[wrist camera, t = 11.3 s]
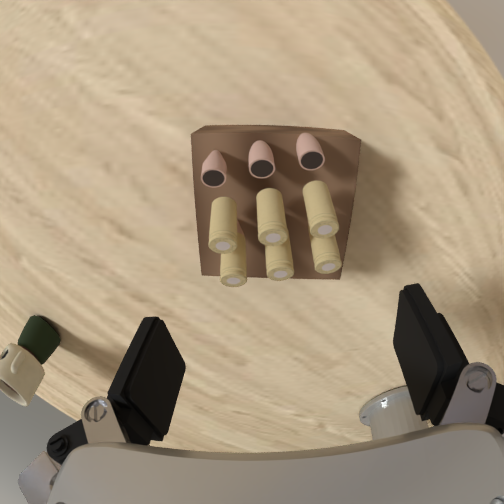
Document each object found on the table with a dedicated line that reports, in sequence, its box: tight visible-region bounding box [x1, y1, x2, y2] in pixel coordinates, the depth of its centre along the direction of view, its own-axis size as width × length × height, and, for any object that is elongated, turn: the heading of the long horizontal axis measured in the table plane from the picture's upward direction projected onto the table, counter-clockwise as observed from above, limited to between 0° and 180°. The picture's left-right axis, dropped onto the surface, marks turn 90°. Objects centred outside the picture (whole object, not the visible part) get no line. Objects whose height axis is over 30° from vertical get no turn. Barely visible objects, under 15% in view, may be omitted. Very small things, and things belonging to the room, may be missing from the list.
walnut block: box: [191, 125, 361, 279], centre depth 23 cm, size 11×11×5 cm
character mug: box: [0, 315, 61, 407], centre depth 31 cm, size 11×7×13 cm, turn 141°
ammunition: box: [201, 133, 342, 287], centre depth 18 cm, size 5×7×8 cm
